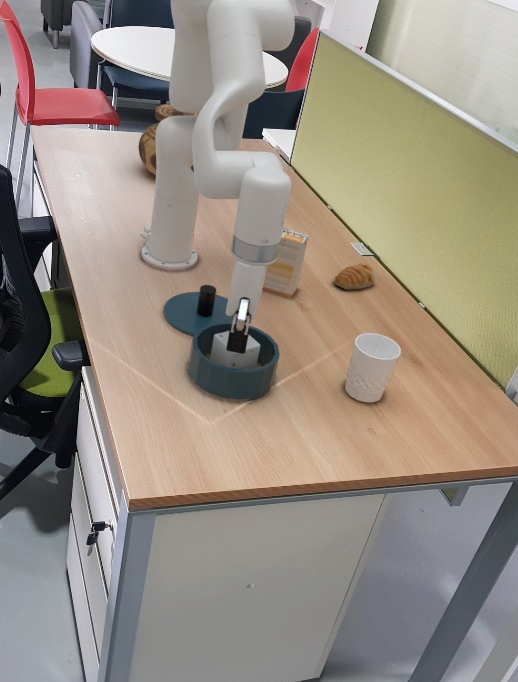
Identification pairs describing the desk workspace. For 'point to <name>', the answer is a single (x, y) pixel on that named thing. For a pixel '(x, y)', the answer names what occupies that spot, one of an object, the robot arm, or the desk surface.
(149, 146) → the clay pot
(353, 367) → the white cup
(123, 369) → the desk surface
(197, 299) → the pot lid
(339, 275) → the pastry
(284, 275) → the supplement box
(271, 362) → the pot
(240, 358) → the product box
